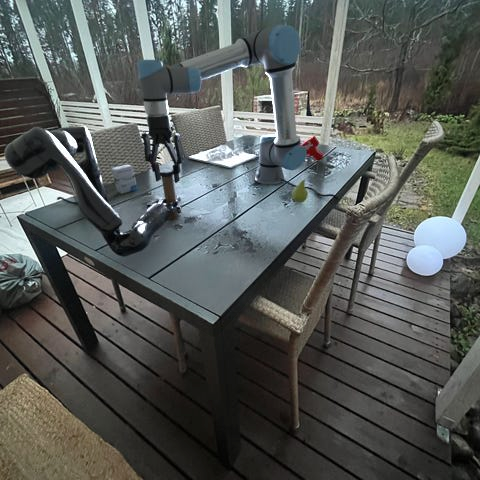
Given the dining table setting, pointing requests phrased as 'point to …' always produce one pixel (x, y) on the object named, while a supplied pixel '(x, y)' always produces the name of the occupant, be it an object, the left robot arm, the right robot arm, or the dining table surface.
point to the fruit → (300, 192)
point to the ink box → (124, 178)
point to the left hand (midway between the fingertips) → (173, 198)
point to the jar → (169, 192)
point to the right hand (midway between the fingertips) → (167, 180)
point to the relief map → (223, 156)
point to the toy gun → (312, 148)
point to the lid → (166, 172)
